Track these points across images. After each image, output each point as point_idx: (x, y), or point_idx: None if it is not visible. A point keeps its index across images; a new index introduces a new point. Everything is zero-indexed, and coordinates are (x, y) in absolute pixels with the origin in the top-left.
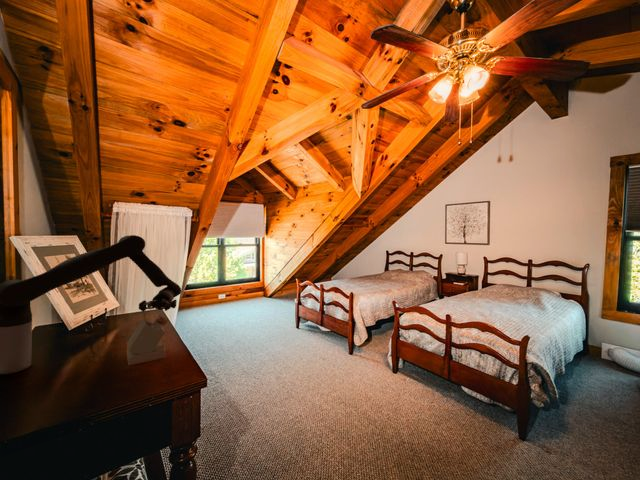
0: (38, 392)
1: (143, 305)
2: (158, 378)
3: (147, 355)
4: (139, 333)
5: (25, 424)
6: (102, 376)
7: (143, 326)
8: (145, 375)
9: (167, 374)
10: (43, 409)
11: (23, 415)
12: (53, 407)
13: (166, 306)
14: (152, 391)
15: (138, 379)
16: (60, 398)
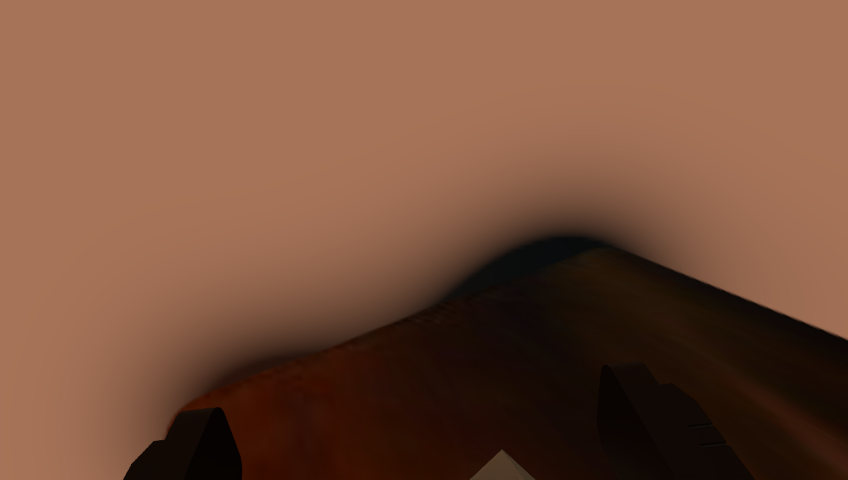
0: (790, 370)
1: (685, 425)
2: (347, 430)
3: None
4: None
5: (620, 268)
6: None
7: (525, 476)
8: (416, 460)
9: (308, 460)
10: (642, 302)
11: (669, 288)
12: (622, 307)
13: (189, 412)
14: (353, 354)
15: (435, 428)
16: (651, 338)
